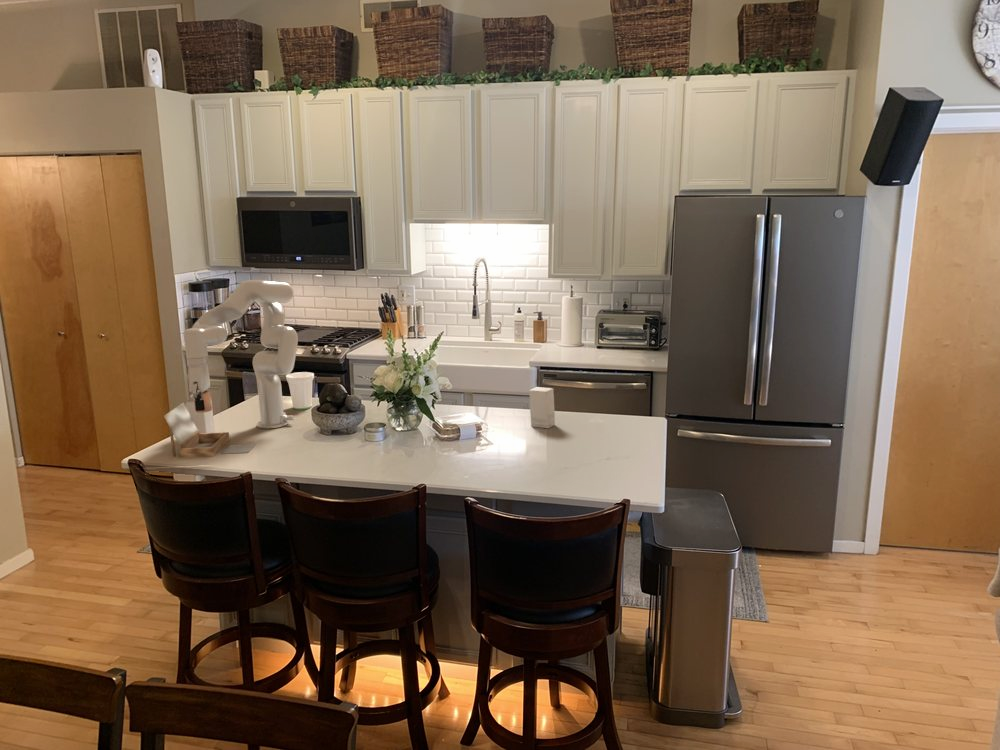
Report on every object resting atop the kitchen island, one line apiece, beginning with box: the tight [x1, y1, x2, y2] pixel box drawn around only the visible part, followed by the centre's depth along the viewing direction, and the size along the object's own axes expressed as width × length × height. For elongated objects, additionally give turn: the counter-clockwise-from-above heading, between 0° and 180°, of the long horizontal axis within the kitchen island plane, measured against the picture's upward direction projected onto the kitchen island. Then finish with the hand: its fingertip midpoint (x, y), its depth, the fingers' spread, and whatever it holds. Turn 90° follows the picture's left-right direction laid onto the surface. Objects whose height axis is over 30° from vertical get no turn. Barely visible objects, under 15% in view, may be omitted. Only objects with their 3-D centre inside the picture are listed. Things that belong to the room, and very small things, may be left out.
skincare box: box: [528, 386, 556, 429], centre depth 306 cm, size 8×7×16 cm
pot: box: [193, 390, 213, 413], centre depth 284 cm, size 6×6×7 cm
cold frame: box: [163, 402, 230, 458], centre depth 286 cm, size 16×20×16 cm
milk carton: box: [185, 393, 216, 433], centre depth 303 cm, size 7×7×19 cm
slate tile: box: [220, 443, 256, 455], centre depth 285 cm, size 10×10×1 cm
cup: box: [285, 371, 315, 411], centre depth 345 cm, size 12×12×15 cm
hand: (203, 407), depth 284 cm, fingers closed on pot, 6 cm apart
